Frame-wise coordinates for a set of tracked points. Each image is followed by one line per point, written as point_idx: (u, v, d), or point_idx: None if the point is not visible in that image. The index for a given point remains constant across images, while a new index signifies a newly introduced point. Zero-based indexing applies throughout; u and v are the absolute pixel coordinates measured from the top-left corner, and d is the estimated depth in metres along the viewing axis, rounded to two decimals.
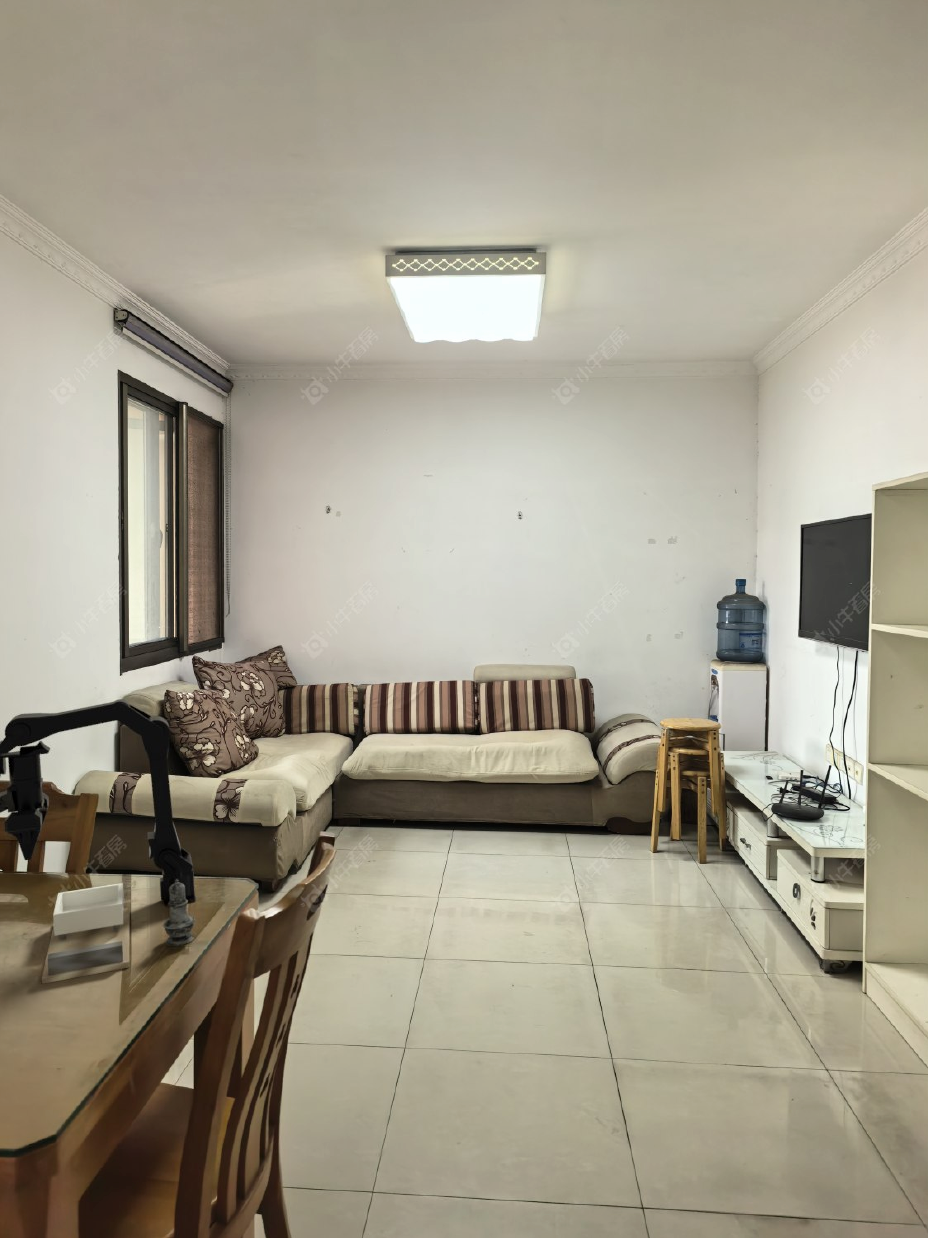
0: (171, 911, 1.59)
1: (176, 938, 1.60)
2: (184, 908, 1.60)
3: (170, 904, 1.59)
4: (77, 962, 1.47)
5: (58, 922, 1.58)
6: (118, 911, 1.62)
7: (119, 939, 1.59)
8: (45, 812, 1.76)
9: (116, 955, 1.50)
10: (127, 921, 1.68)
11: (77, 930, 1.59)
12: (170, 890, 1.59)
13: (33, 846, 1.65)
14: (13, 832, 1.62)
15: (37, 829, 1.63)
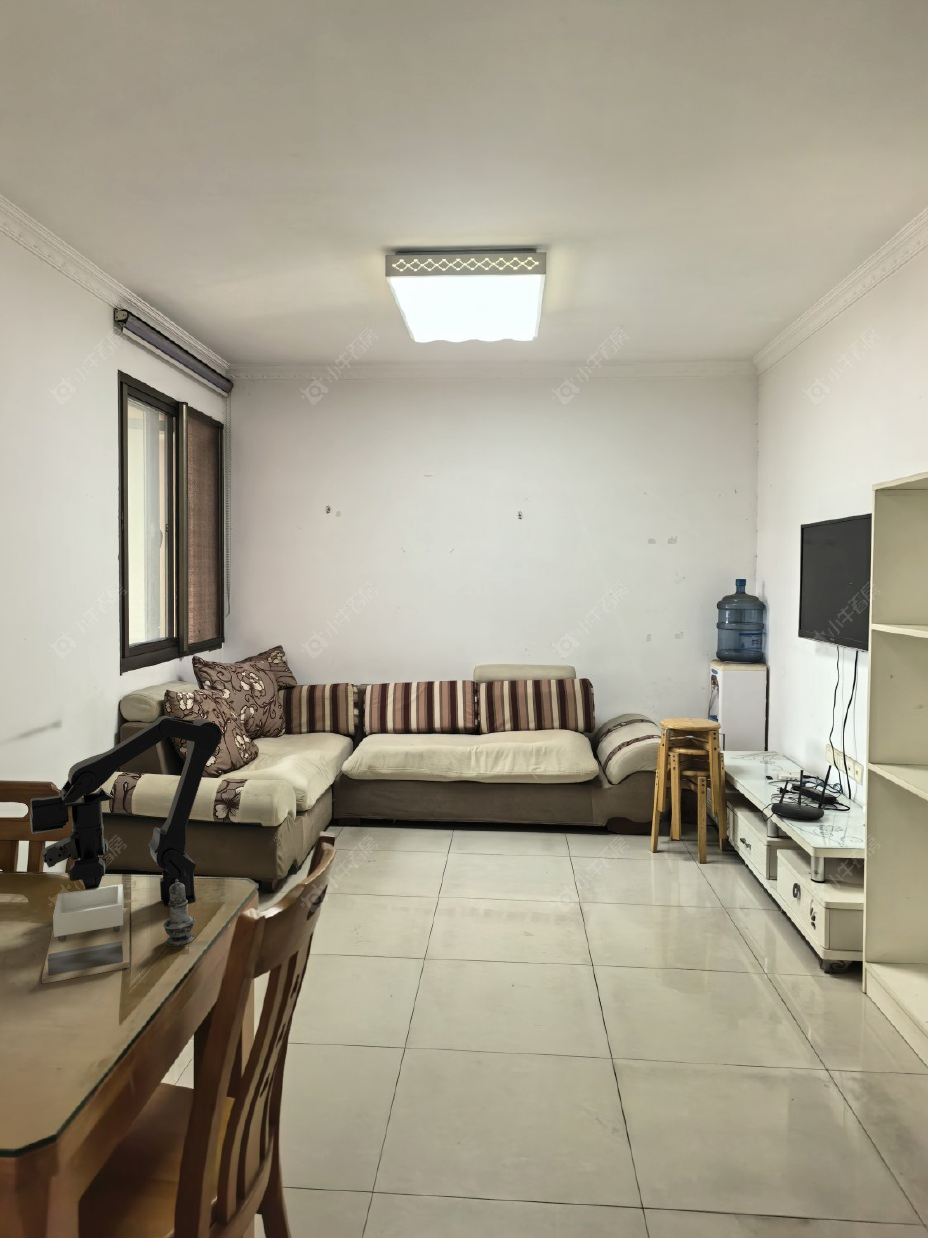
0: (171, 911, 1.59)
1: (176, 938, 1.60)
2: (184, 908, 1.60)
3: (170, 904, 1.59)
4: (77, 962, 1.47)
5: (58, 923, 1.58)
6: (118, 912, 1.61)
7: (119, 939, 1.59)
8: (104, 864, 1.74)
9: (116, 955, 1.50)
10: (127, 921, 1.68)
11: (77, 931, 1.59)
12: (170, 890, 1.59)
13: (97, 886, 1.71)
14: None
15: None
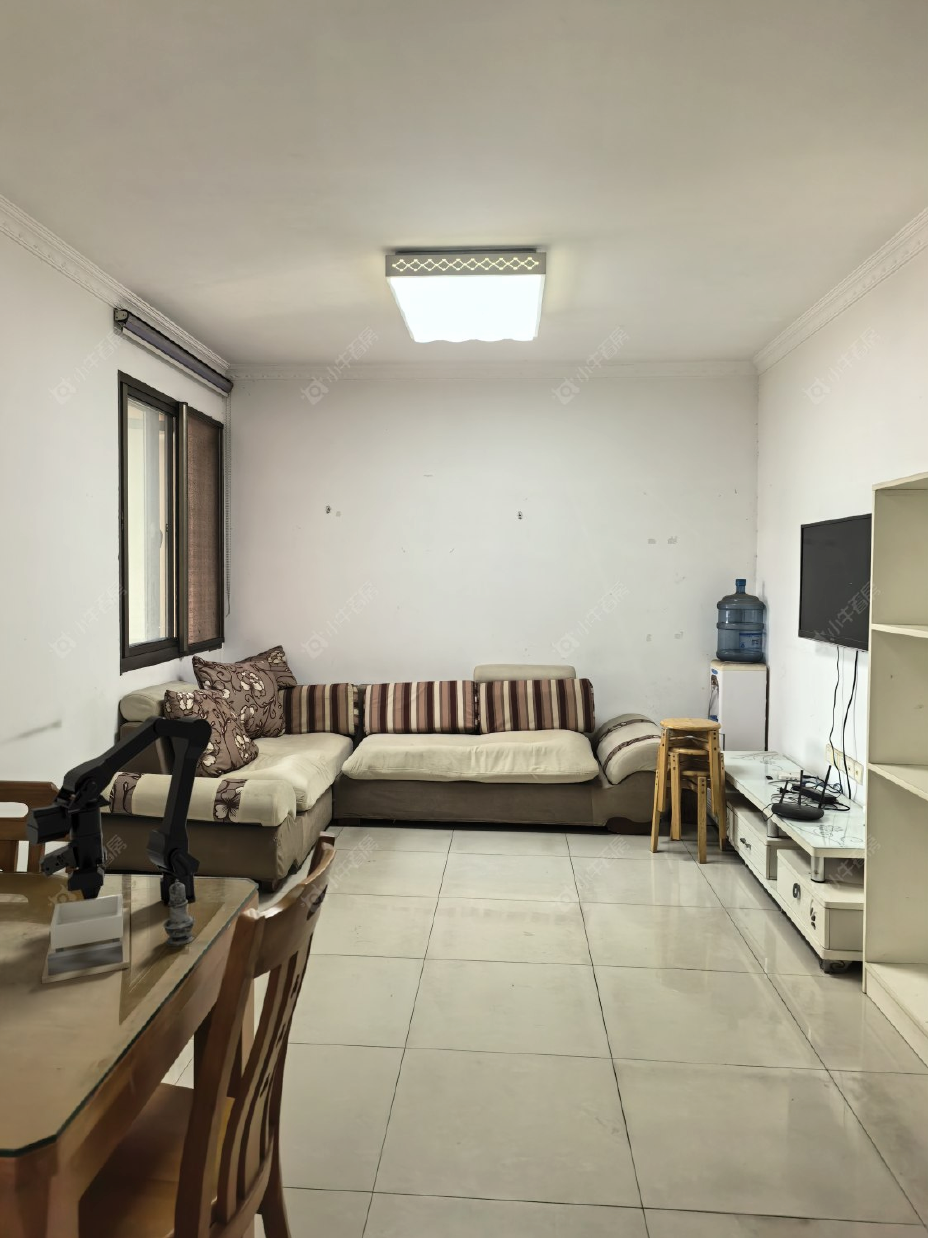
0: (171, 911, 1.59)
1: (176, 938, 1.60)
2: (184, 908, 1.60)
3: (170, 904, 1.59)
4: (77, 962, 1.47)
5: (56, 935, 1.52)
6: (117, 924, 1.56)
7: None
8: (103, 873, 1.68)
9: (116, 955, 1.50)
10: (127, 921, 1.68)
11: (75, 943, 1.53)
12: (170, 890, 1.59)
13: (96, 896, 1.66)
14: None
15: None
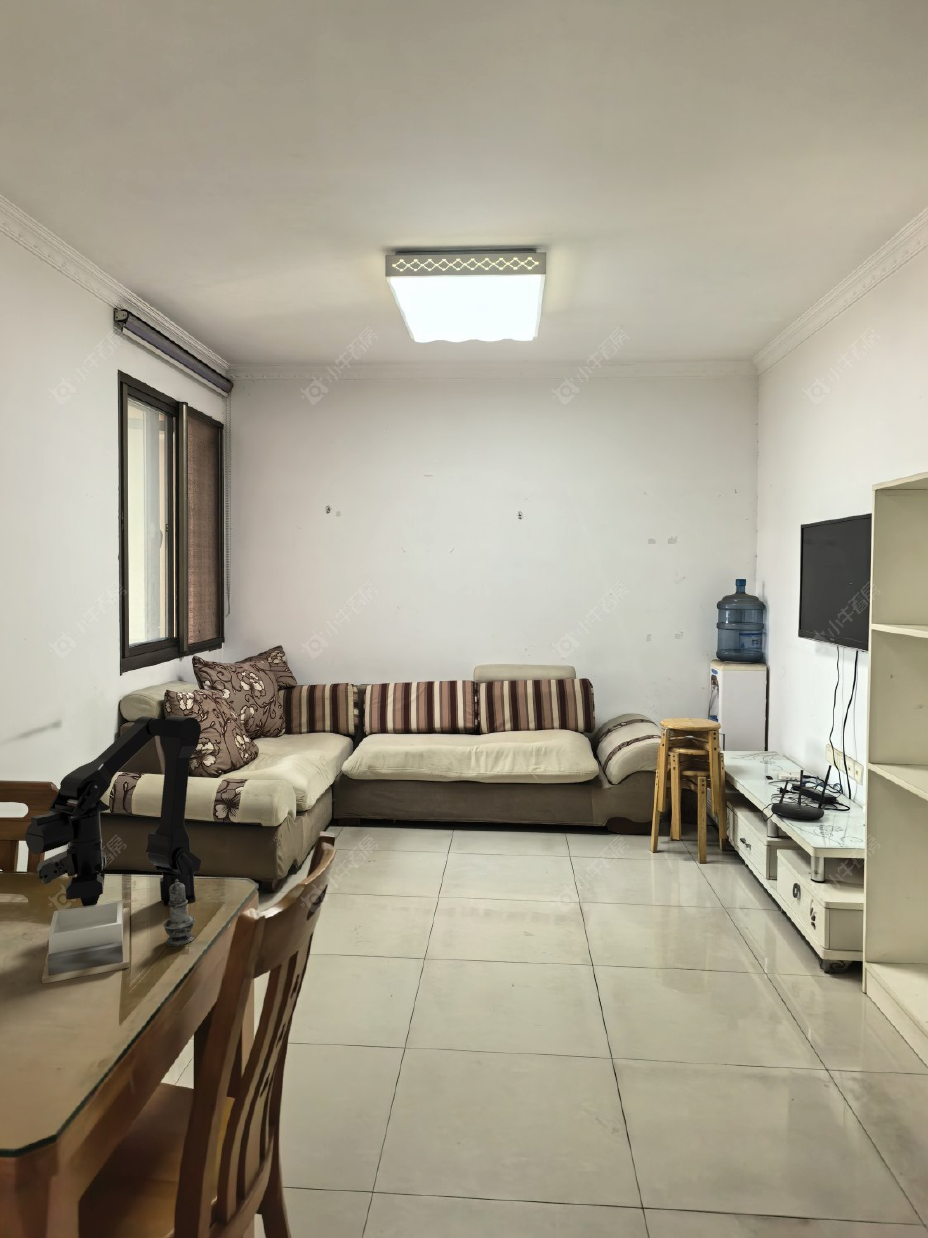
0: (171, 911, 1.59)
1: (176, 938, 1.60)
2: (184, 908, 1.60)
3: (170, 904, 1.59)
4: (77, 962, 1.47)
5: (54, 943, 1.49)
6: (117, 932, 1.53)
7: None
8: (102, 879, 1.64)
9: (116, 955, 1.50)
10: (127, 921, 1.68)
11: None
12: (170, 890, 1.59)
13: (95, 903, 1.63)
14: None
15: None
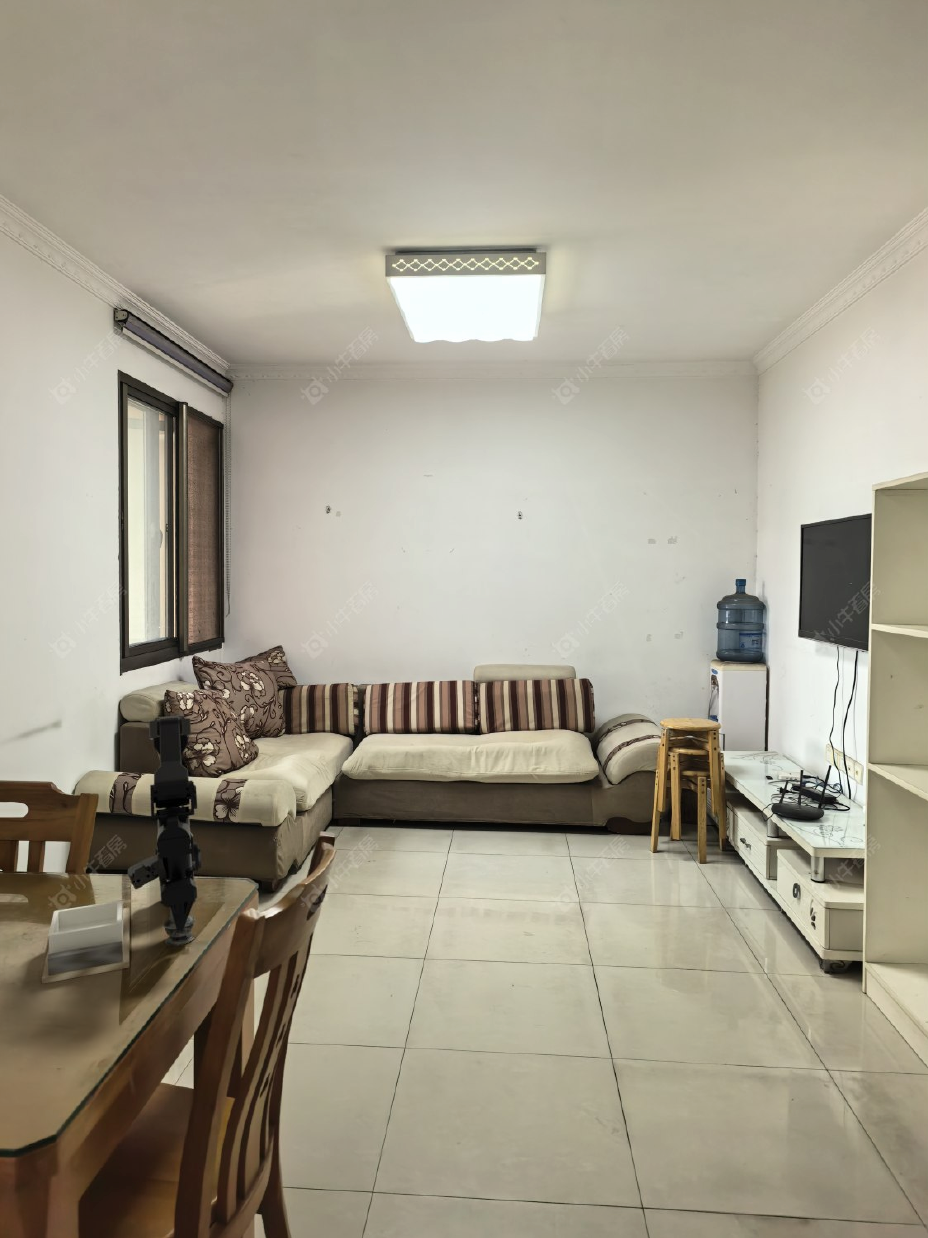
0: (171, 911, 1.59)
1: (176, 938, 1.60)
2: None
3: None
4: (77, 962, 1.47)
5: (54, 943, 1.49)
6: (117, 931, 1.53)
7: None
8: (190, 877, 1.65)
9: (116, 955, 1.50)
10: (127, 921, 1.68)
11: None
12: None
13: (186, 916, 1.56)
14: (169, 903, 1.52)
15: (193, 899, 1.54)
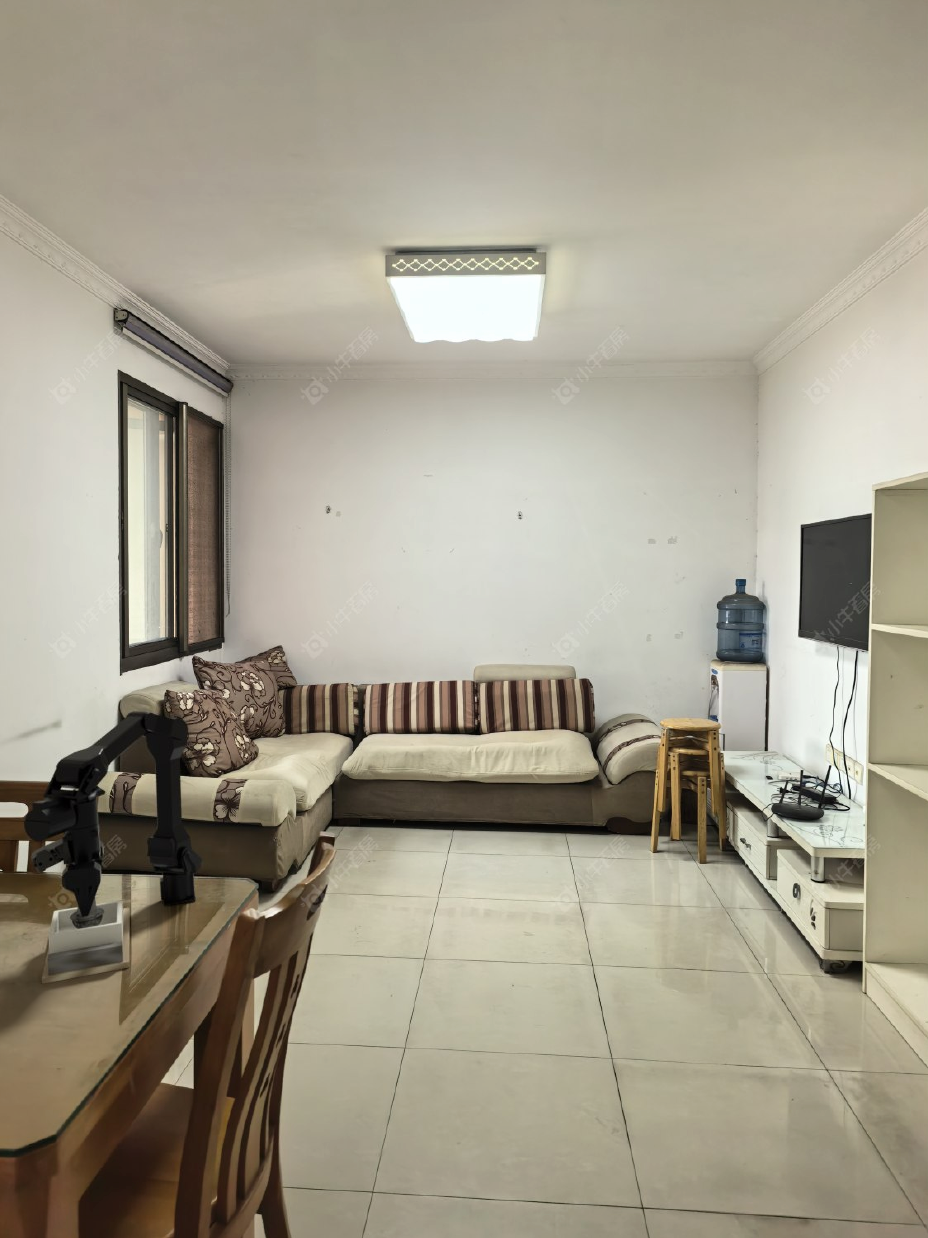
0: None
1: None
2: None
3: None
4: (77, 962, 1.47)
5: (54, 943, 1.49)
6: (117, 931, 1.53)
7: None
8: (101, 861, 1.61)
9: (116, 955, 1.50)
10: (127, 921, 1.68)
11: None
12: None
13: (91, 901, 1.51)
14: (71, 887, 1.48)
15: (96, 884, 1.49)
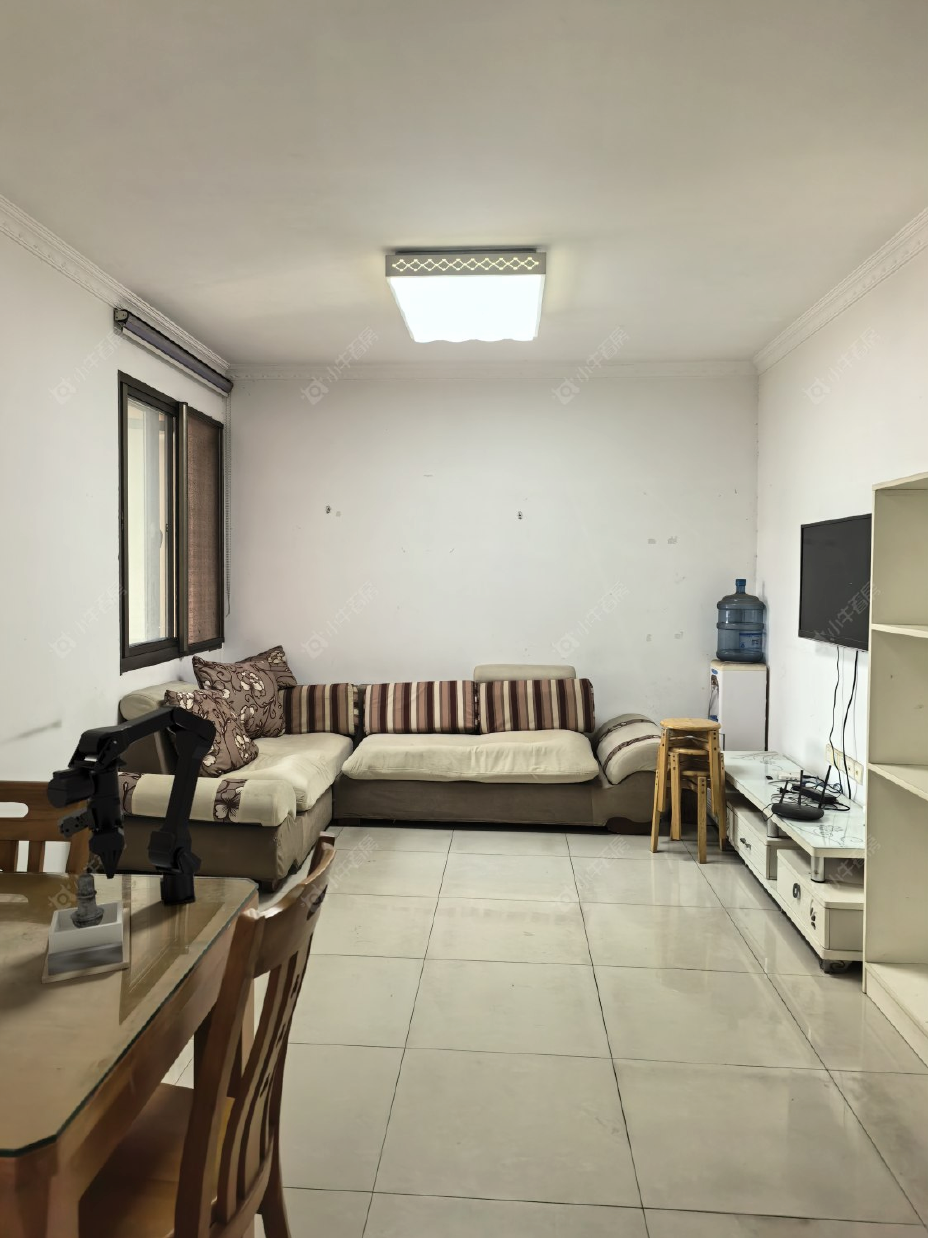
0: None
1: None
2: (82, 902, 1.55)
3: None
4: (77, 962, 1.47)
5: (54, 943, 1.49)
6: (117, 931, 1.53)
7: None
8: (121, 828, 1.71)
9: (116, 955, 1.50)
10: (127, 921, 1.68)
11: None
12: None
13: (116, 865, 1.61)
14: (97, 851, 1.57)
15: (121, 847, 1.59)
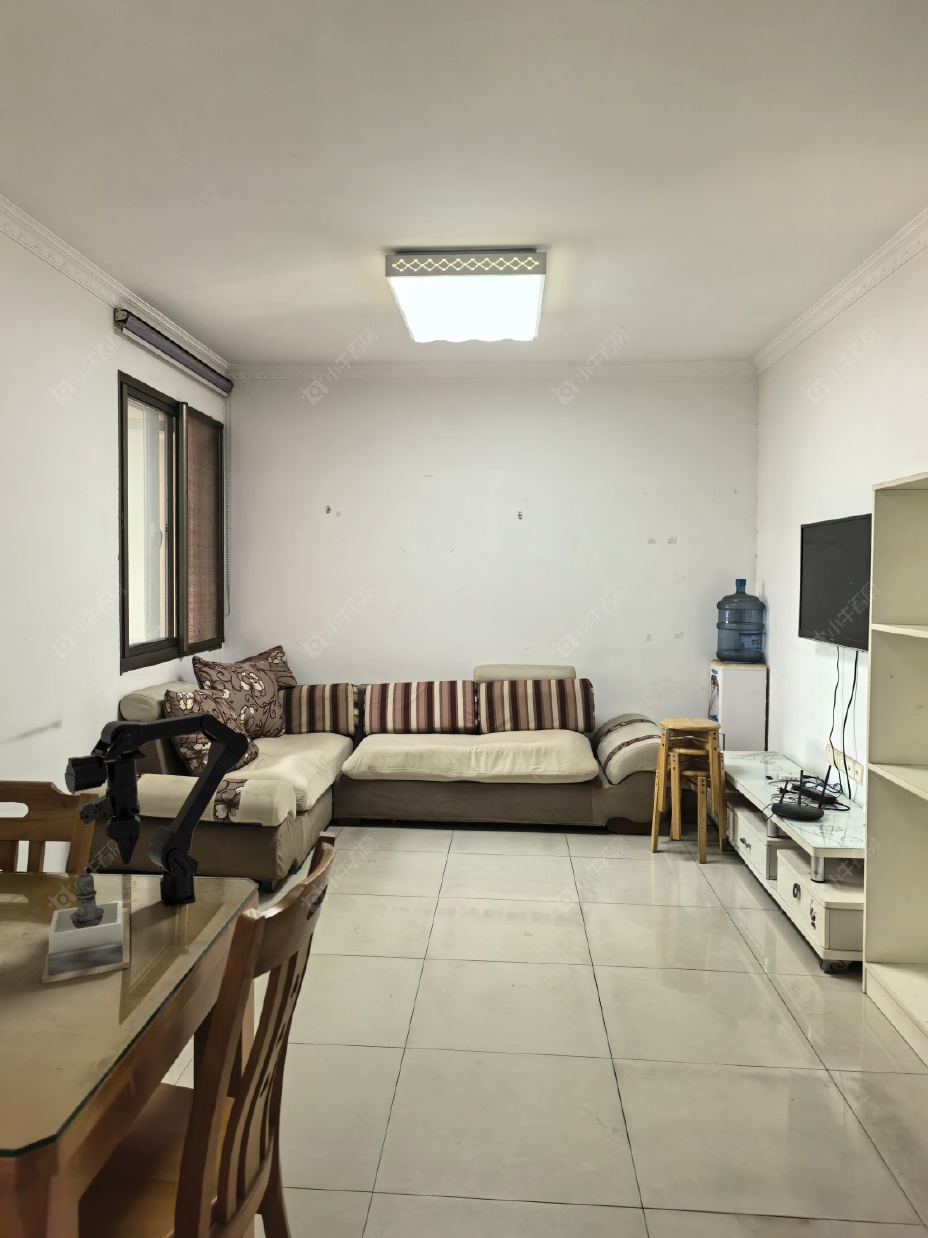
0: None
1: None
2: (82, 902, 1.55)
3: None
4: (77, 962, 1.47)
5: (54, 943, 1.49)
6: (117, 931, 1.53)
7: None
8: (138, 817, 1.79)
9: (116, 955, 1.50)
10: (127, 921, 1.68)
11: None
12: None
13: (131, 851, 1.68)
14: (114, 837, 1.65)
15: (137, 834, 1.66)
